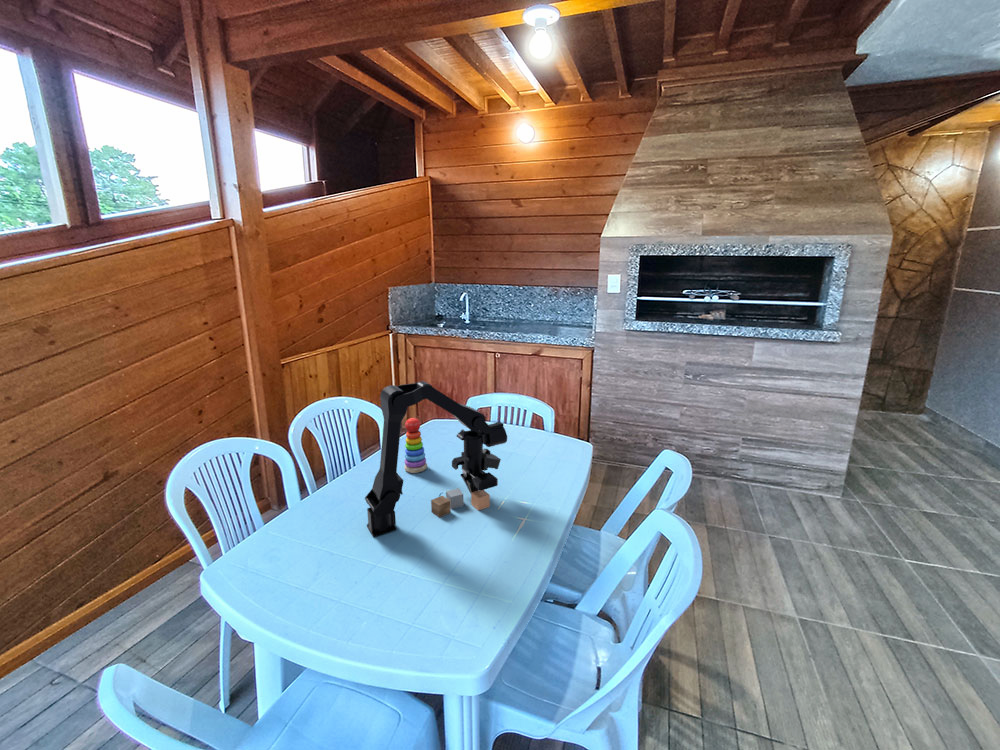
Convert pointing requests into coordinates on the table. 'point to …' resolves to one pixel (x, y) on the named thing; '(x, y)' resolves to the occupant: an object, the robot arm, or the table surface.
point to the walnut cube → (440, 506)
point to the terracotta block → (480, 499)
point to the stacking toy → (414, 448)
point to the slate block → (455, 498)
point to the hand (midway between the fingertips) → (474, 497)
